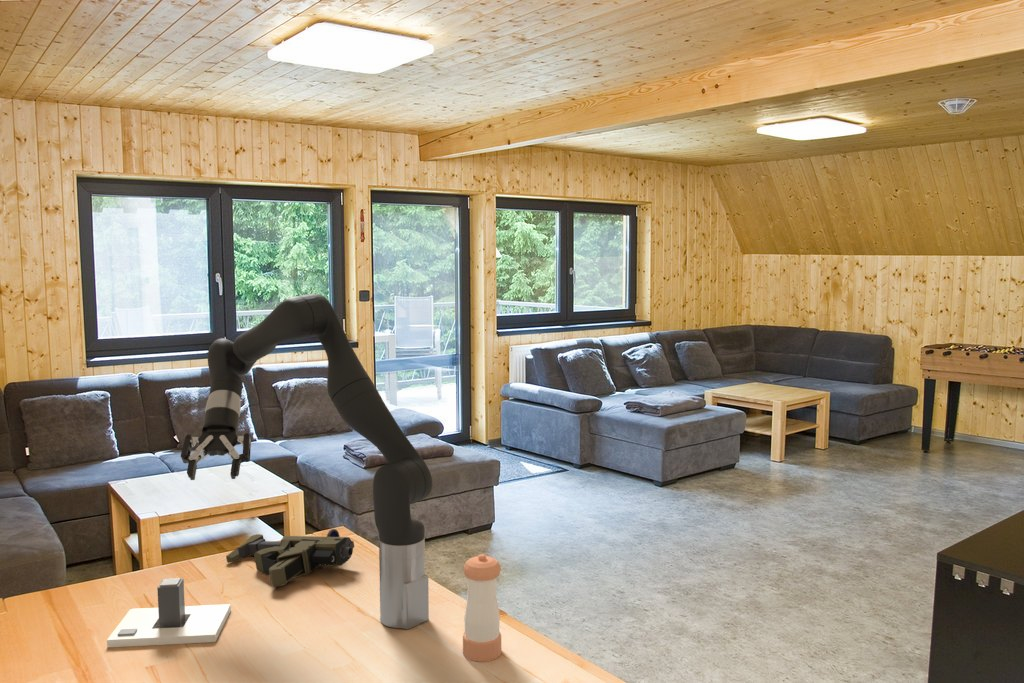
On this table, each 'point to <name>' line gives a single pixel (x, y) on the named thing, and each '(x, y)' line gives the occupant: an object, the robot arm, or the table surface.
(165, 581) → the grey rectangular peg
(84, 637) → the table surface
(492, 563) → the pepper shaker
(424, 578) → the robot arm
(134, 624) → the plate
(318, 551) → the futuristic firearm
